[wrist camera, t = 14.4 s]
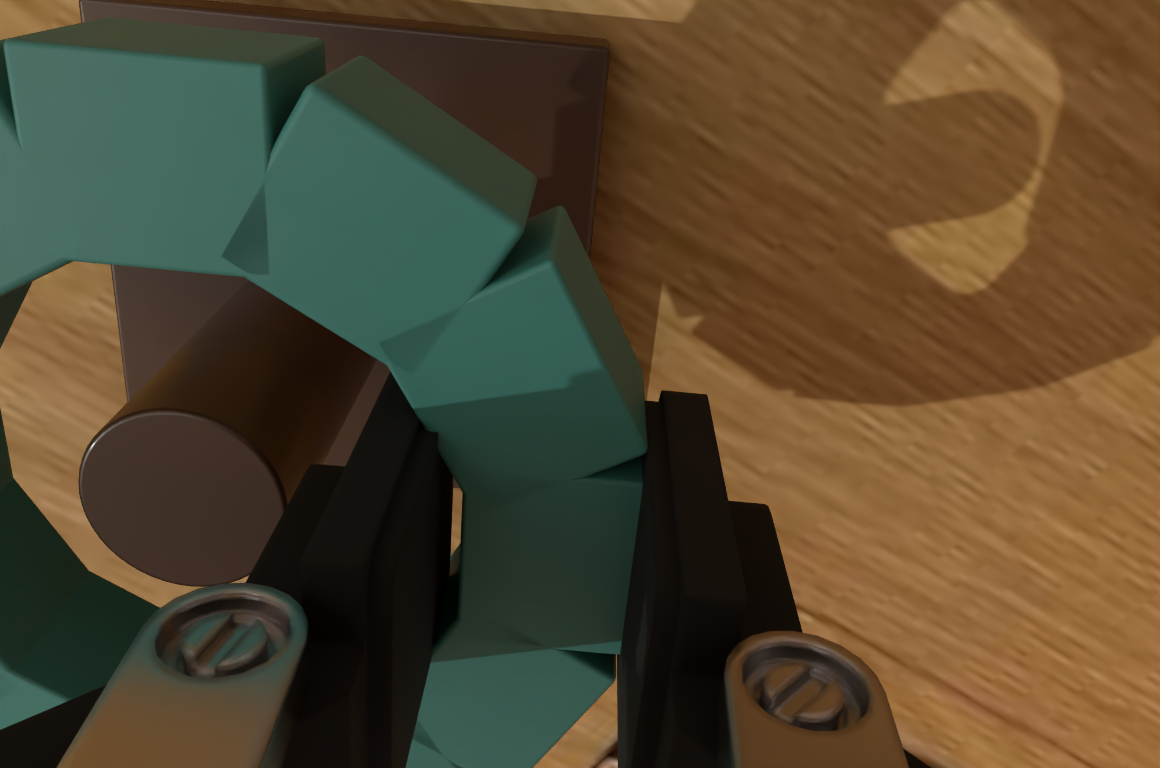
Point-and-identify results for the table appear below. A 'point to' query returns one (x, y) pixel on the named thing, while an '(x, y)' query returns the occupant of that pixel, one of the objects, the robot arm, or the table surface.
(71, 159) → the ring
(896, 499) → the table surface
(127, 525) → the post
